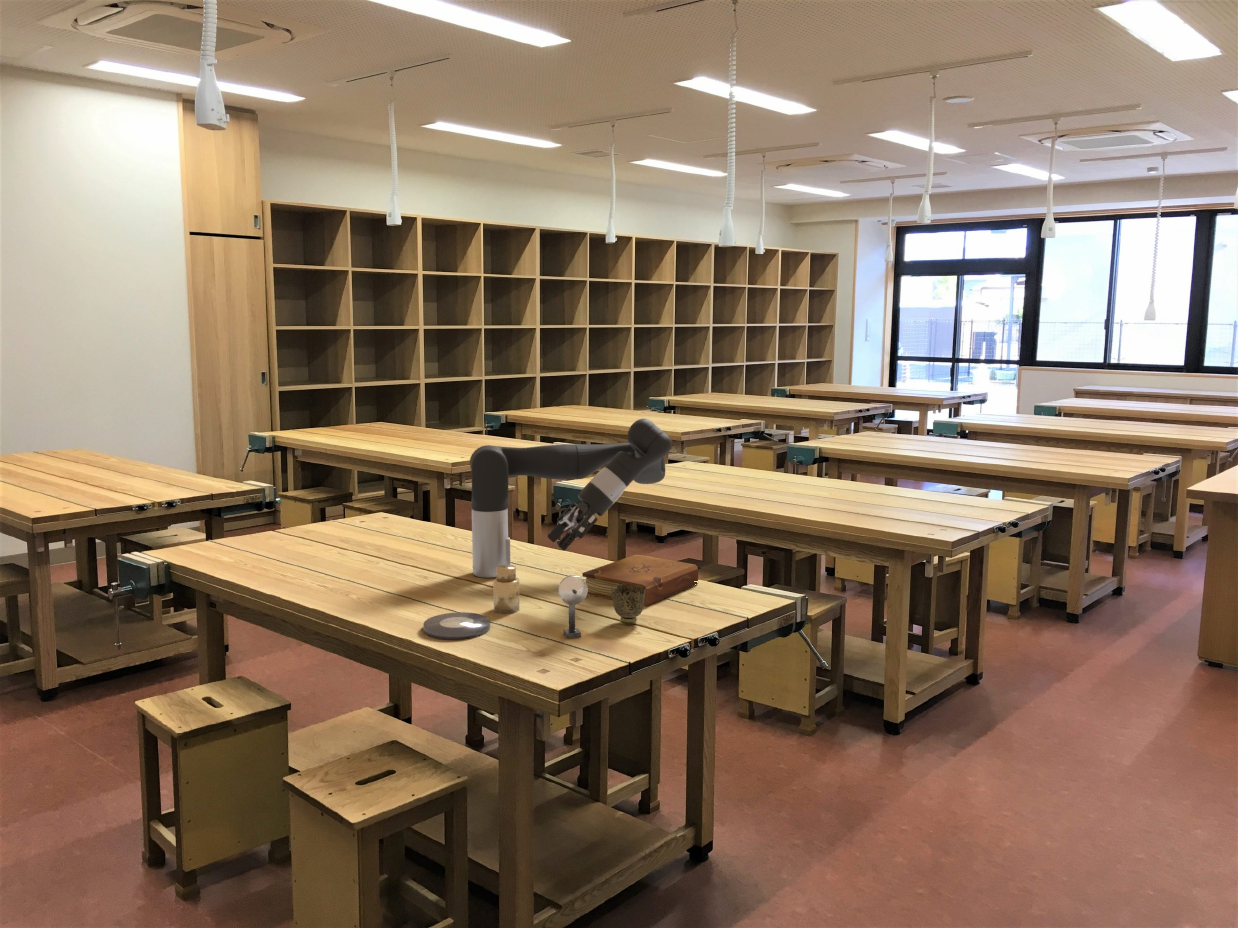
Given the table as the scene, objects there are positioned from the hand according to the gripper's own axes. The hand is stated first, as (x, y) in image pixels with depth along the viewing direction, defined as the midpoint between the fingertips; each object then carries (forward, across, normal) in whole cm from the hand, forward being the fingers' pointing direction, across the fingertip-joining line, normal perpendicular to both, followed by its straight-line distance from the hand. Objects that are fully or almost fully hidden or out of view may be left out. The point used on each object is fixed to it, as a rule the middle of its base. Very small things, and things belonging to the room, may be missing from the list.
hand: (555, 543), depth 218 cm
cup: (+2, -18, -18) cm, 26 cm away
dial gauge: (+12, -22, -8) cm, 26 cm away
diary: (-6, +6, -27) cm, 29 cm away
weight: (+18, 0, -2) cm, 19 cm away
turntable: (+28, -10, +7) cm, 30 cm away
